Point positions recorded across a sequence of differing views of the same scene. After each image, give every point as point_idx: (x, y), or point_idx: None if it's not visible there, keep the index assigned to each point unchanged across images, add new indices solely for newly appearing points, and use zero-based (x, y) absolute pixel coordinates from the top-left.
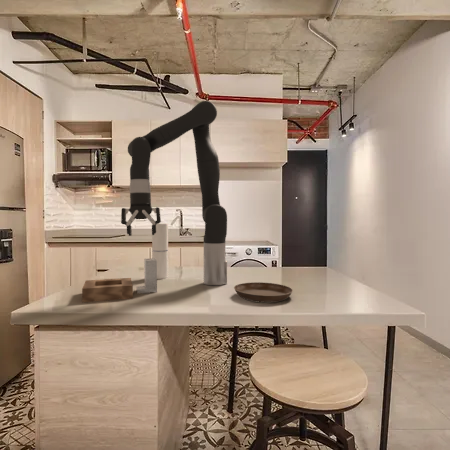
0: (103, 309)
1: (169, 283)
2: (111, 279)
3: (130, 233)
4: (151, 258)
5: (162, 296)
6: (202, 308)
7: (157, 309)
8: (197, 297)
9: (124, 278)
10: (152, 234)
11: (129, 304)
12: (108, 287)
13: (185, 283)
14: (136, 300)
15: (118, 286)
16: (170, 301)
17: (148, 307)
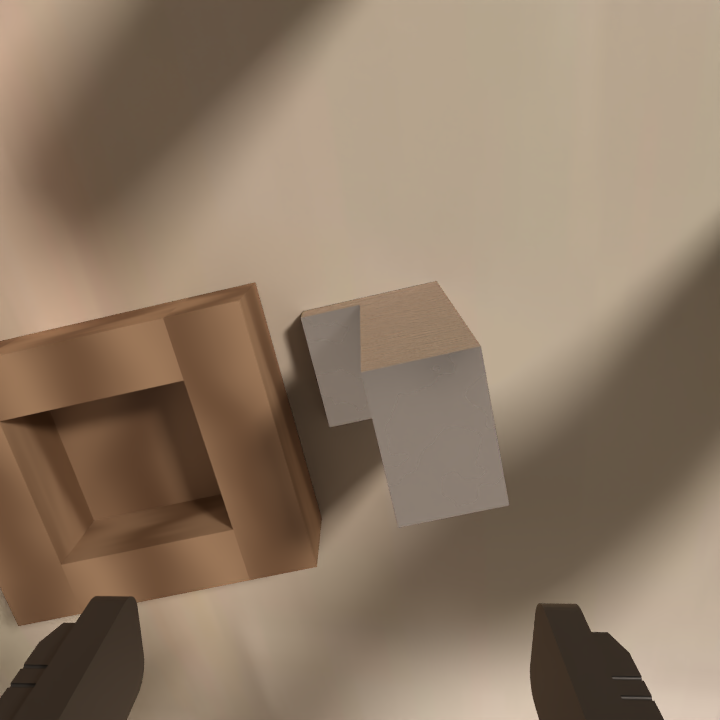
0: (221, 689)
1: (551, 80)
2: (95, 357)
3: (129, 711)
4: (441, 358)
5: None
6: (691, 714)
7: (478, 710)
8: (706, 534)
9: (192, 324)
10: (539, 689)
11: (328, 627)
12: (168, 594)
13: (693, 96)
14: (351, 561)
15: (227, 582)
16: (543, 596)
17: (433, 680)
